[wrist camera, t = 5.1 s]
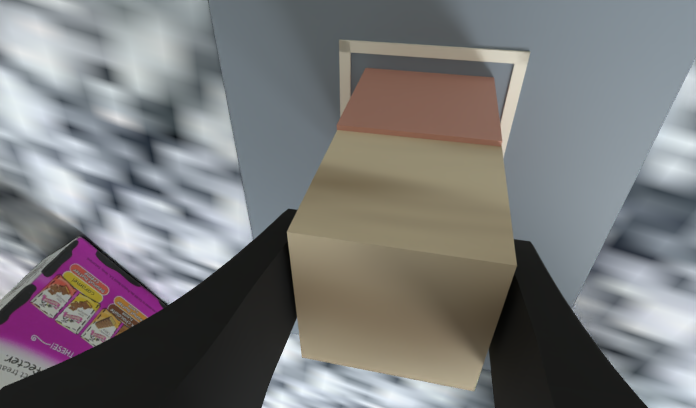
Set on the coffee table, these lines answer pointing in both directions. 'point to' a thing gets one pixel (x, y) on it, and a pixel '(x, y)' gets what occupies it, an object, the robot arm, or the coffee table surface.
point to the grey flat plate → (474, 60)
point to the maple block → (403, 256)
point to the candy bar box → (67, 310)
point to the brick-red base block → (424, 106)
